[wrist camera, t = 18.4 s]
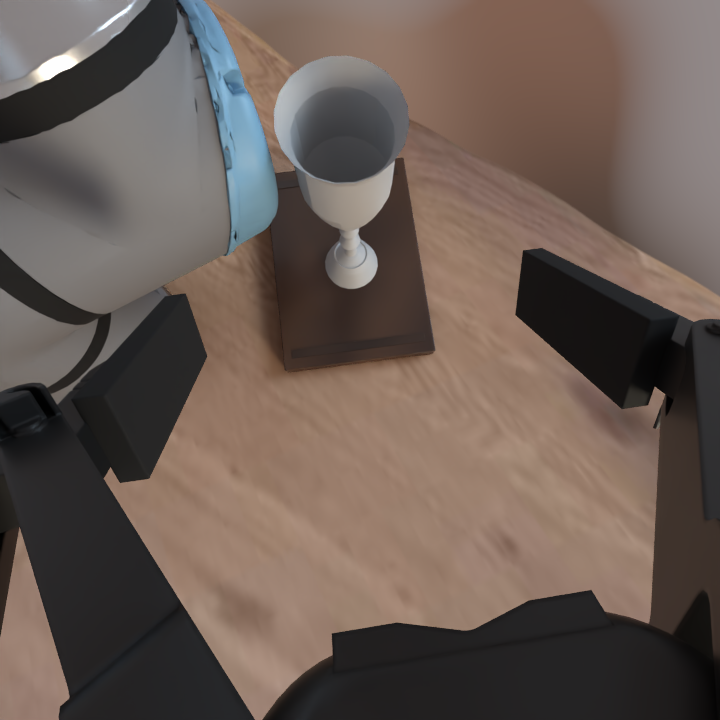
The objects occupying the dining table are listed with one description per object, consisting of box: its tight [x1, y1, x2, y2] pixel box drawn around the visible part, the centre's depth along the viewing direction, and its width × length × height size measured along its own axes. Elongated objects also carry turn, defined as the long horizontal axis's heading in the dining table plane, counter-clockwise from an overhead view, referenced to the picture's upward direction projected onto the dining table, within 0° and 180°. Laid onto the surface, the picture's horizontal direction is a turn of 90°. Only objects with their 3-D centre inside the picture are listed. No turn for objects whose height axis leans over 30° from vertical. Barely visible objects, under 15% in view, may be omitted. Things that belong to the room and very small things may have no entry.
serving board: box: [270, 158, 435, 372], centre depth 38 cm, size 14×20×2 cm
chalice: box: [274, 56, 409, 289], centre depth 28 cm, size 7×7×18 cm
